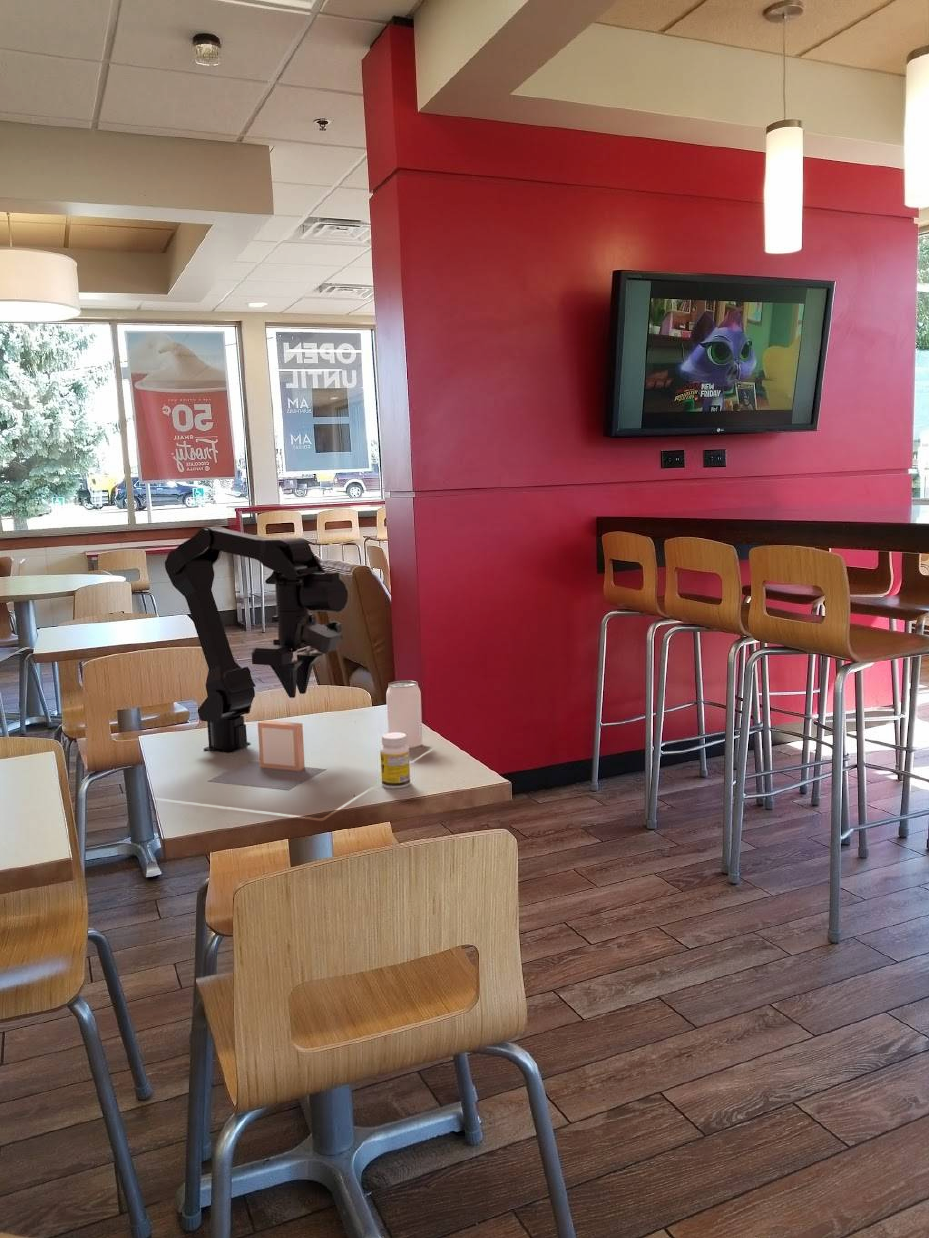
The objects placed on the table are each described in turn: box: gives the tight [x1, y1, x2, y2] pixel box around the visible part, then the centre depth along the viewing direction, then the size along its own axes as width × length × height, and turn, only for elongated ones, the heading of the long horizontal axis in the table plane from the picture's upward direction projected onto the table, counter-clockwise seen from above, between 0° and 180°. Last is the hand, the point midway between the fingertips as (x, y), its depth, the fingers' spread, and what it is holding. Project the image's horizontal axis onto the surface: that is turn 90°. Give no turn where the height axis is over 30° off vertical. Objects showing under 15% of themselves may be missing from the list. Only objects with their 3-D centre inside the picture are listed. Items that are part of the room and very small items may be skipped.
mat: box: [208, 761, 327, 791], centre depth 161 cm, size 16×12×1 cm
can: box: [385, 680, 423, 749], centre depth 177 cm, size 6×6×12 cm
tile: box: [257, 720, 306, 771], centre depth 164 cm, size 8×2×8 cm, turn 68°
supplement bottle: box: [379, 732, 411, 790], centre depth 154 cm, size 5×5×8 cm
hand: (297, 695), depth 169 cm, fingers open, 3 cm apart
